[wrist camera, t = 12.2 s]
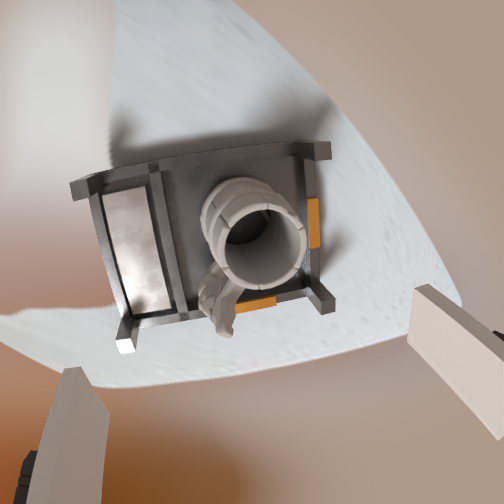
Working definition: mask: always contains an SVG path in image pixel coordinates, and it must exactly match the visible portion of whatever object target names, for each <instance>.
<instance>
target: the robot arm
mask: <svg viewBox="0 0 504 504" xmlns="http://www.w3.org/2000/svg"><path fill="white" fill-rule="evenodd" d="M407 342H408V343H409V344H410V345H411V346H412V347H413V348H414V349H415V350H416V351H417V352H418V353H419V354H420V355H421V356H422V358H423V359H425V360H426V362H427V363H428V364H429V365H430V366H431V367H432V368H433V369H434V370H435V371H436V372H437V373H438V374H439V376H440V377H442V379H443V380H444V381H445V382H446V383H447V384H448V385H449V386H450V387H451V388H452V389H453V391H454V392H455V393H456V394H457V395H458V396H459V397H460V398H461V399H462V400H463V402H464V403H465V404H466V405H467V406H468V407H469V408H470V409H471V410H472V412H473V413H474V414H475V415H476V416H477V417H478V418H479V419H480V420H481V421H482V423H483V424H484V425H485V426H486V427H487V428H488V430H489V431H490V432H491V433H492V434H493V435H494V436H495V438H496V439H497V440H498V441H499V440H500V439H501V438H502V437H504V334H502V333H499V332H497V331H493V332H491V331H490V330H489V329H487V328H486V327H485V326H483V325H482V324H481V323H480V322H478V321H477V320H476V319H475V318H473V317H472V316H471V315H469V314H468V313H467V312H466V311H464V310H463V309H462V308H460V307H459V306H458V305H456V304H455V303H454V302H452V301H451V300H450V299H448V298H447V297H446V296H444V295H443V294H442V293H440V292H439V291H437V290H436V289H435V288H433V287H432V286H431V285H429V284H426V285H423V286H420V287H417V288H414V296H413V304H412V311H411V318H410V325H409V331H408V337H407ZM109 419H110V414H109V412H108V411H107V409H106V408H105V406H104V405H103V403H102V402H101V400H100V399H99V397H98V395H97V394H96V392H95V390H94V389H93V387H92V385H91V384H90V382H89V380H88V378H87V377H86V375H85V373H84V371H83V370H82V368H81V367H75V368H66V369H64V371H63V373H62V376H61V379H60V382H59V385H58V388H57V390H56V393H55V396H54V399H53V402H52V405H51V408H50V412H49V414H48V418H47V421H46V424H45V428H44V431H43V435H42V438H41V442H40V445H39V449H38V451H30V452H29V454H28V455H27V457H26V458H25V460H24V461H23V465H22V468H21V472H20V475H21V476H20V477H19V480H18V487H17V489H16V493H15V498H14V503H13V504H101V492H102V478H103V467H104V458H105V449H106V441H107V433H108V426H109Z"/></svg>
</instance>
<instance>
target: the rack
mask: <svg viewBox="0 0 504 504" xmlns="http://www.w3.org/2000/svg"><path fill="white" fill-rule="evenodd" d="M331 159H332V153H331V142H329V141H310V140H301V141H289V142H278V143H268V144H258V145H249V146H241V147H233V148H226V149H218V150H211V151H205V152H198V153H192V154H186V155H180V156H174V157H169V158H163V159H158V160H153V161H147V162H142V163H138V164H133V165H128V166H123V167H119V168H114V169H110V170H106V171H102V172H97V173H94V174H90V175H87V176H85V177H82V178H80V179H77V180H75V181H73V182H70V188H71V193H72V198H73V201H77V200H81V199H85V198H88V199H89V203H90V208H91V212H92V217H93V221H94V225H95V229H96V234H97V238H98V242H99V245H100V249H101V253H102V257H103V260H104V264H105V267H106V270H107V274H108V278H109V281H110V284H111V287H112V291H113V294H114V297H115V300H116V303H117V306H118V309H119V312H120V315H121V322H120V326H119V329H118V333H117V337H116V343H117V346H118V348H119V351H120V353H127V352H134V351H135V350H136V343H137V337H138V332H139V328H144V327H150V326H156V325H163V324H169V323H175V322H181V321H186V320H192V319H198V318H203V317H207V316H206V315H205V314H204V313H203V311H201V310H199V306H198V300H199V293H198V289H199V283H200V281H201V279H202V278H203V275H204V272H205V271H206V269H208V268H209V267H210V266H211V265H212V264H213V262H214V261H215V259H214V257H213V255H212V253H211V250H210V247H209V243H208V242H207V240H206V239H205V237H204V234H203V231H202V227H201V221H200V214H201V211H202V207H203V204H204V202H205V200H206V199H207V197H208V195H209V194H210V193H211V192H212V191H213V190H214V188H215V187H216V186H218V185H219V184H221V183H222V182H224V181H226V180H229V179H232V178H237V177H248V178H254V179H257V180H259V181H262V182H263V183H266V184H268V185H269V186H270V187H271V189H273V190H274V191H275V192H276V193H278V194H280V195H282V196H283V197H284V199H285V200H286V201H287V202H288V203H289V205H290V206H291V207H292V209H293V210H294V212H295V214H296V215H297V216H298V217H299V218H300V219H301V221H302V223H303V225H304V226H303V227H304V228H305V230H306V233H307V248H306V252H305V255H304V258H303V260H302V263H301V266H300V268H299V269H298V268H297V269H298V271H297V272H296V273H295V274H294V275H293V276H292V277H291V278H290V279H289V280H287V281H286V282H284V283H283V284H280V285H278V286H275V287H273V288H269V289H264V290H261V289H260V288H259V289H256V290H254V289H248V288H245V290H244V291H243V292H242V294H241V295H240V296H239V298H238V299H237V302H236V305H235V311H236V314H238V313H243V312H248V311H253V310H258V309H262V308H267V307H272V306H277V305H276V303H279V302H284V301H288V300H293V299H297V298H302V297H306V296H307V297H308V298H309V300H310V301H311V302H312V304H313V305H314V306H315V308H316V309H317V310H318V312H319V313H320V314H321V315H324V314H328V313H332V312H335V299H336V298H335V297H334V296H333V295H332V294H331V293H330V292H329V291H328V290H327V289H326V288H325V286H324V285H323V284H322V283H321V282H320V275H319V247H321V243H320V218H319V199H318V198H317V197H316V184H315V170H314V161H319V160H331ZM266 211H267V214H268V217H270V209H266ZM267 225H268V220H267V219H266V218H265V216H264V215H263V214H262V212H261V211H260V210H258V211H254V212H251V213H249V214H247V215H245V216H244V217H242V218H241V219H239V220H238V221H237V222H236V223H235V224H234V226H233V227H231V230H230V232H229V234H228V236H227V239H226V242H227V243H230V244H237V245H238V244H246V243H249V242H252V241H254V240H255V239H257V238H258V237H259V236H260V235H261V234H262V232H263V231H265V228H266V227H267ZM228 280H229V277H228V276H227V275H226V274H224V276H223V277H222V278H221V281H222V284H221V291H222V290H223V288H224V287H225V285H226V283H227V281H228ZM220 293H221V292H220ZM220 293H219V294H220Z"/></svg>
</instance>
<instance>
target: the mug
mask: <svg viewBox="0 0 504 504" xmlns="http://www.w3.org/2000/svg"><path fill="white" fill-rule="evenodd" d="M266 209H270V217H268V214H267V211H266ZM258 210H260V211H261V212H262V214H263V215H264V216H265V218H266V219H267V220H268V225H267V227H266V228H265V231H263V232H262V234H261V235H260V236H259V237H258V238H257V239H255V240H254V241H252V242H249V243H246V244H238V245H237V244H230V243H227V242H226V239H227V236H228V234H229V232H230V230H231V227H233V226H234V224H235V223H236V222H237V221H238V220H239V219H241V218H242V217H244V216H245V215H247V214H249V213H251V212H254V211H258ZM200 221H201V227H202V231H203V234H204V237H205V239H206V240H207V242H208V243H209V247H210V250H211V253H212V255H213V257H214V259H215V261H214V262H213V264H212V265H211V266H210V267H209V268H208V269H206V271H205V272H204V275H203V278H202V279H201V281H200V283H199V289H198V293H199V300H198V306H199V310H201V311H203V313H204V314H205V315H206V316H207V317H209V318H210V319H211V321H212V322H213V323H214V324H215V326H216V333H217V334H218V335H220V336H222V337H225V338H231V337H232V335H233V328H232V324H233V321H234V319H235V316H236V311H235V305H236V302H237V299H238V298H239V296H240V295H241V294H242V292H243V291H244V290H245V288H248V289H254V290H256V289H259V288H260V289H261V290H264V289H269V288H273V287H275V286H278V285H280V284H283V283H284V282H286V281H287V280H289V279H290V278H291V277H292V276H293V275H294V274H295V273H296V272H297V271H298V269H299V268H300V266H301V263H302V260H303V258H304V255H305V252H306V248H307V233H306V230H305V228H304V227H303V226H304V225H303V223H302V221H301V219H300V218H299V217H298V216H297V215H296V214H295V212H294V210H293V209H292V207H291V206H290V205H289V203H288V202H287V201H286V200H285V199H284V197H283V196H282V195H280V194H278V193H276V192H275V191H274V190H273V189H271V187H270V186H269V185H268V184H266V183H263V182H262V181H259V180H257V179H254V178H248V177H237V178H232V179H229V180H226V181H224V182H222V183H221V184H219V185H218V186H216V187H215V188H214V190H213V191H212V192H211V193H210V194H209V195H208V197H207V199H206V200H205V202H204V204H203V207H202V211H201V214H200ZM297 268H298V269H297ZM224 274H226V275H227V276H228V277H229V280H228V281H227V283H226V285H225V287H224V288H223V290H222V291H221V284H222V281H221V278H222V277H223V276H224ZM220 292H221V293H220ZM219 293H220V294H219Z"/></svg>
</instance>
